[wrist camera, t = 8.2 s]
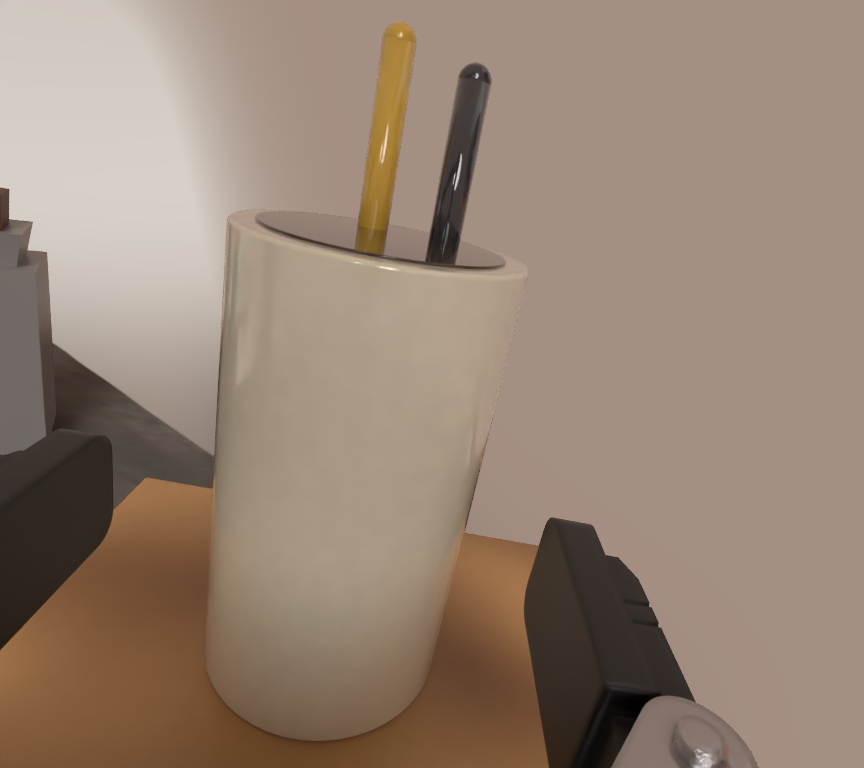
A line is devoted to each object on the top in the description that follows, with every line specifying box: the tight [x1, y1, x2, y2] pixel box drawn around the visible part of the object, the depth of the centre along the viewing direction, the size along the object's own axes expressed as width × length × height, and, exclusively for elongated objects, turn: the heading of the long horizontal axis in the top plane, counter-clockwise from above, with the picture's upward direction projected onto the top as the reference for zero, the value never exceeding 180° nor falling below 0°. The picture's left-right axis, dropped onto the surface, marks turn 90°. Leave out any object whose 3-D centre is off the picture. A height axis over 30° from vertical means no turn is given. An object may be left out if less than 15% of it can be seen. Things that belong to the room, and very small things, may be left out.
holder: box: [204, 22, 529, 742], centre depth 13 cm, size 6×6×15 cm
